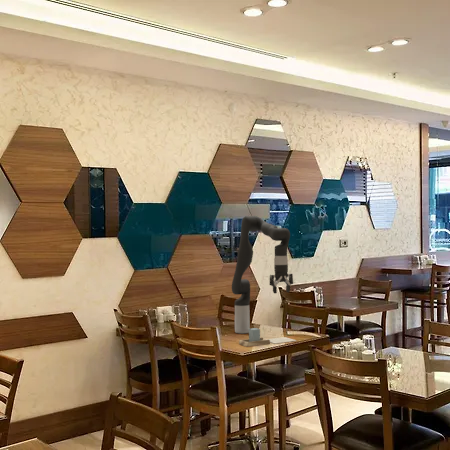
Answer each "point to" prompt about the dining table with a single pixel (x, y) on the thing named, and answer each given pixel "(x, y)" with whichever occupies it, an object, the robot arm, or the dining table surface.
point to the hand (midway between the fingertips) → (281, 292)
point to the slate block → (254, 334)
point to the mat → (280, 340)
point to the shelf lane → (254, 343)
